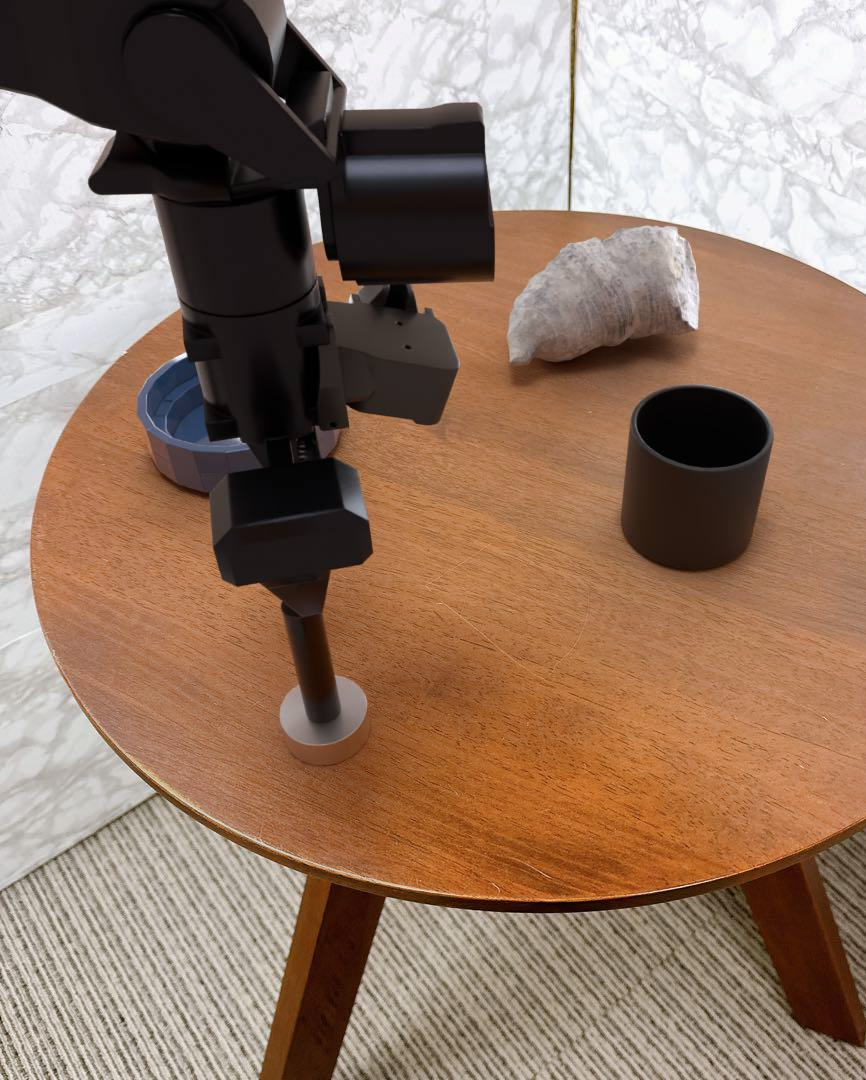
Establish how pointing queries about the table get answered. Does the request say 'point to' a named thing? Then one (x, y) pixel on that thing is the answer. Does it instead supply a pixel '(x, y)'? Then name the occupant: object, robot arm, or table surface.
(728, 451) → the black cup
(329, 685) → the paper towel holder
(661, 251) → the seashell
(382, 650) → the table surface
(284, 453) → the robot arm
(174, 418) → the bowl
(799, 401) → the table surface
